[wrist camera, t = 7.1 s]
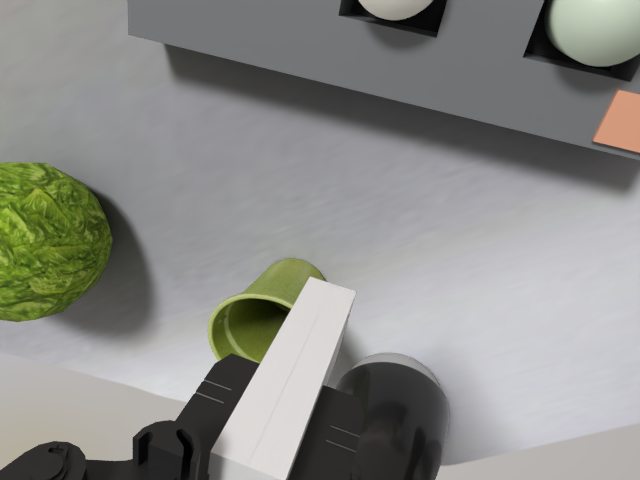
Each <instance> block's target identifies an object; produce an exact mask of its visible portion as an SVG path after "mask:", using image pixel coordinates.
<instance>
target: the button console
mask: <svg viewBox="0 0 640 480" xmlns="http://www.w3.org/2000/svg"><path fill="white" fill-rule="evenodd" d="M352 2H353V0H128V35H132V36H136V37H140V38H144V39H148V40H152V41H156V42H160V43H165V44H169V45H173V46H177V47H181V48H185V49H189V50H193V51H197V52H201V53H205V54H209V55H213V56H217V57H221V58H225V59H230V60H234V61H238V62H242V63H246V64H250V65H254V66H258V67H262V68H266V69H270V70H274V71H278V72H282V73H286V74H290V75H294V76H299V77H303V78H307V79H311V80H315V81H319V82H323V83H327V84H331V85H335V86H339V87H343V88H347V89H351V90H355V91H359V92H363V93H368V94H372V95H376V96H380V97H384V98H388V99H392V100H396V101H400V102H404V103H408V104H412V105H416V106H420V107H424V108H428V109H432V110H437V111H441V112H445V113H449V114H453V115H457V116H461V117H465V118H469V119H473V120H477V121H481V122H485V123H489V124H493V125H497V126H501V127H506V128H510V129H514V130H518V131H522V132H526V133H530V134H534V135H538V136H542V137H546V138H550V139H554V140H558V141H562V142H566V143H570V144H575V145H579V146H583V147H587V148H591V149H595V150H599V151H603V152H607V153H611V154H615V155H619V156H623V157H627V158H631V159H635V160H640V53H639V54H638V55H636V56H634V57H633V58H631V59H629V60H627V61H625V62H622V63H619V64H616V65H613V66H612V68H611V70H610V72H609V71H604V70H600V69H596V68H591V67H587V66H582V65H578V64H573V63H569V62H565V61H560V60H556V59H551V58H547V57H543V56H538V55H534V54H529V53H525V50H526V47H527V44H528V42H529V39H530V36H531V34H532V31H533V29H534V26H535V23H536V21H537V18H538V15H539V13H540V10H541V8H542V5H543V2H544V0H447V3H446V7H445V10H444V14H443V17H442V21H441V24H440V28H439V31H438V33H436V32H432V31H428V30H423V29H419V28H414V27H410V26H406V25H401V24H397V23H392V22H388V21H383V20H379V19H375V18H370V17H366V16H361V15H357V14H353V13H350V12H351V7H352Z"/></svg>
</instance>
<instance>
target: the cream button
mask: <svg viewBox="0 0 640 480" xmlns="http://www.w3.org/2000/svg"><path fill="white" fill-rule="evenodd" d="M432 1H433V0H359V2H360V3H361V4H362V6H363V7H364V8H365V9H366V10H367V11H369V12H370V13H372V14H373V15H375V16H377V17H379V18H382V19H386V20H401V19H406V18H409V17H411V16H414V15H416V14H417V13H419V12H420V11H422V10H423V9H425V8H426V7H427V6H428V5H429V4H430V3H431V2H432Z"/></svg>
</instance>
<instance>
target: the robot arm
mask: <svg viewBox="0 0 640 480" xmlns="http://www.w3.org/2000/svg"><path fill="white" fill-rule="evenodd" d="M355 295H356V291H353V290H350V289H346V288H343V287H340V286H337V285H334V284H331V283H328V282H325V281H322V280H319V279H316V278H313V277H309V279H308V281H307V282H306V284H305V286H304V288H303V289H302V291H301V293H300V295H299V296H298V298H297V300H296V302H295V304H294V305H293V307H292V309H291V311H290V312H289V314H288V316H287V318H286V319H285V321H284V323H283V325H282V326H281V328H280V330H279V332H278V333H277V335H276V337H275V339H274V341H273V342H272V344H271V346H270V348H269V349H268V351H267V353H266V355H265V356H264V358H263V360H262V362H261V363H257V362H255V361H252V360H249V359H246V358H244V357H241V356H238V355H235V354H233V353H231V354H229V355H228V356H226V357H224V358H223V359H221V360H220V361H218V362H217V363H215V364H214V366H213V367H212V369H211V370H210V372H209V373H208V374H207V376H206V377H205V379H204V381H203V382H202V383H201V384H200V386H199V387H198V389H197V390H196V393H195V394H194V395H193V396H192V397H191V399H190V400H189V402H188V403H187V405H186V406H185V408H184V409H183V410H182V412H181V413H180V415H179V416H178V418H177V419H176V421H171V420H169V421H161V422H155V423H153V424H151V425H149V426H146V427H144V428H143V429H142V430H141V431H140V432H138V433H137V434H136V435H135V436H134V437H133V459H131V460H127V461H102V460H86V459H85V455H84V454H83V452H82V451H81V450H80V448H79V447H77V446H75V445H73V444H71V443H69V442H57V441H53V442H49V443H45V444H41V445H38V446H36V447H34V448H33V449H31V450H29V451H27V452H25V453H24V454H22V455H21V456H19V457H18V458H17V459H15V460H14V461H13V462H12V463H10V464H8V465H7V466H6V467H4V468H3V469H2V470H0V480H349V479H350V475H351V471H352V467H353V463H354V459H355V454H356V450H357V446H358V442H359V437H360V434H361V430H362V425H363V421H364V412H363V408H362V403H361V399H360V398H358V397H355V396H352V395H349V394H347V393H344V392H341V391H338V390H336V389H333V388H330V387H327V384H328V381H329V378H330V376H331V373H332V370H333V367H334V365H335V362H336V359H337V356H338V353H339V349H340V346H341V342H342V339H343V335H344V332H345V329H346V325H347V322H348V318H349V315H350V312H351V308H352V305H353V301H354V298H355Z"/></svg>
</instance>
